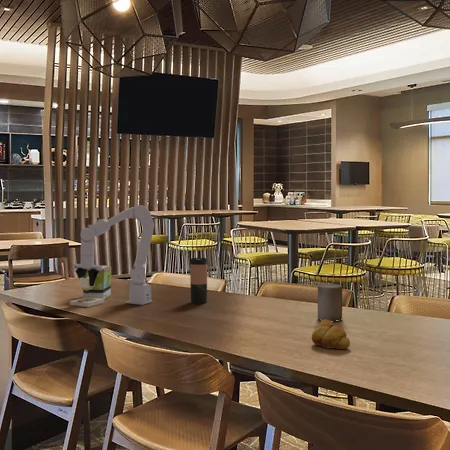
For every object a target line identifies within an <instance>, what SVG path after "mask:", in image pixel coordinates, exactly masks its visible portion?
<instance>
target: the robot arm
mask: <svg viewBox="0 0 450 450" xmlns="http://www.w3.org/2000/svg"><path fill="white" fill-rule="evenodd" d="M134 218H135V219H136V220H138V221H139V223H140V224H141V226H142V231H141V235H140V240H139V244H138V249H137V252H136V257H135V261H134V263H133V267H132V268H131V270H130V272H129V278H130V281H129V283H128V284H129V290H128V291H129V299H128V300H126V301H124V303H125V304H131V305H132V304H133V305H142V306H143V305H146V304H150V303H153V300H152V286H151V285H150V284H149V283H146V281H145V280H146V267H147V266H146V263H147V261H148V260H147V259H148V257H149V256H148V255H149V251H150V247H151V241H152V239H153V233H154V230H155V222H154V219H153V217H152V215H151V211H150V210H149V209H148V207H146V206H145V205H142V204H138V205H134V206H132V207H129V208H127V209H124V210H123V211H121V212H119V213H117V214H116V215H113V216H111V217H110V218H108V219H105V218H102V219H101V218H99V219H98V220H97V221H96V222H95V223H92V224H88V225H87V226H88V227H84V228H83V229H82V230H81V231H80V235H79V236H80V238H81V240H80V263H74V264H72V269H75V273H76V275H77V277H78V279H79V278H83V276H86V272H87V269H89V271H88V274H89V284H90V286H94V283H95V280H96V277H97V275H98V273H99V270H102V266H103V265H99V264H95V244H94V238H95V237H96V238H98V237H99V236H101V235H103V234H104V233H107V232H109V231H110V229H111V228H112V227H111V226H114V225H116V224H117V223H119V222H122V221H124V220H126V219H134Z"/></svg>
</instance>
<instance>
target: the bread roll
mask: <svg viewBox="0 0 450 450" xmlns="http://www.w3.org/2000/svg"><path fill="white" fill-rule="evenodd" d="M311 341H312V343H313V344H314V345H315V346H317V347H318V346H320V347H323V348H325V349H335V348H336V349H337V350H344V349H348V348H349V347H350V346H351V341H350V338H348V337H347V332H346V331H345V329H344V328H343V327H341V326H339V325H335V324H334V322H331V321H330V320H328V319H324V320H322V321H321V320H320V322H319V325H318V327H317V328H315V329H314V331H313V332H312V334H311Z"/></svg>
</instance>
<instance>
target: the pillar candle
mask: <svg viewBox="0 0 450 450" xmlns="http://www.w3.org/2000/svg"><path fill="white" fill-rule="evenodd" d="M318 319H321V320H324V319H328V320H330V321H336V320H341V319H342V320H343V285H342V284H338V283H331V282H330V283H320V284H317V320H318ZM321 320H320V321H321Z"/></svg>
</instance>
